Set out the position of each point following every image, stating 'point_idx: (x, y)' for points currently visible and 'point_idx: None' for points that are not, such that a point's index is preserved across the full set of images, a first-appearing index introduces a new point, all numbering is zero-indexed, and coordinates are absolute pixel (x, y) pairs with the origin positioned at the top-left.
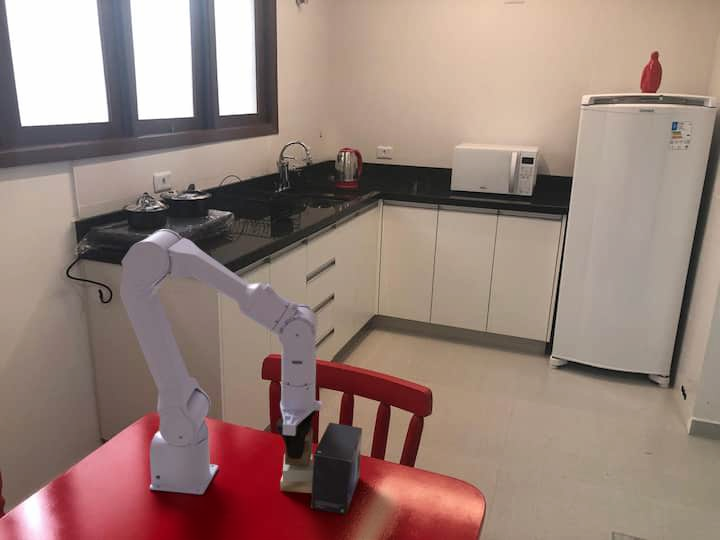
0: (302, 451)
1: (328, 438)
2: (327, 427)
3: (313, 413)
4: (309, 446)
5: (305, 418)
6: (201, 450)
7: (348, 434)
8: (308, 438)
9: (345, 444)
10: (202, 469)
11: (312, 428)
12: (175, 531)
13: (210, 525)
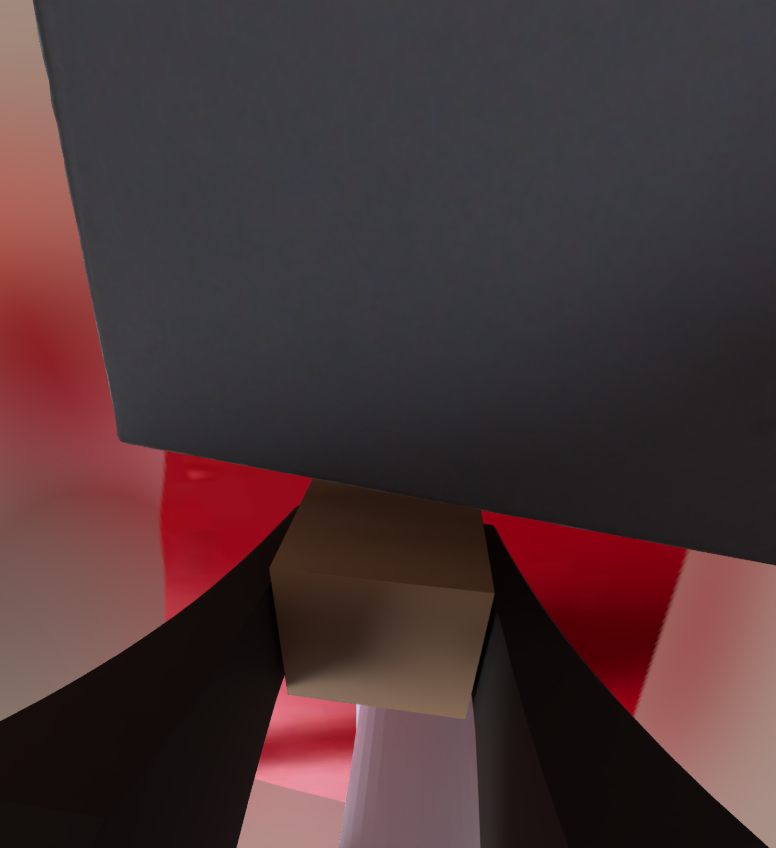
0: (512, 562)
1: (518, 443)
2: (242, 462)
3: (163, 761)
4: (437, 521)
5: (224, 713)
6: (457, 825)
7: (363, 104)
8: (452, 596)
9: (724, 134)
10: (451, 727)
11: (271, 571)
12: (635, 688)
13: (625, 632)
